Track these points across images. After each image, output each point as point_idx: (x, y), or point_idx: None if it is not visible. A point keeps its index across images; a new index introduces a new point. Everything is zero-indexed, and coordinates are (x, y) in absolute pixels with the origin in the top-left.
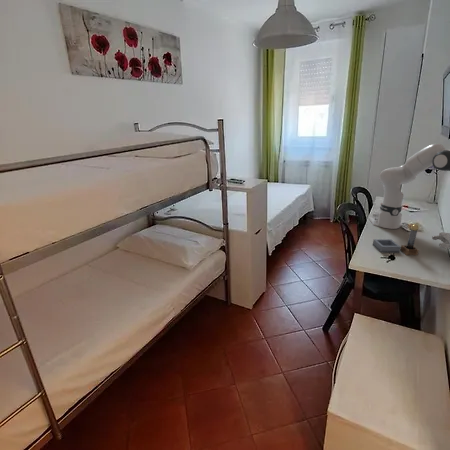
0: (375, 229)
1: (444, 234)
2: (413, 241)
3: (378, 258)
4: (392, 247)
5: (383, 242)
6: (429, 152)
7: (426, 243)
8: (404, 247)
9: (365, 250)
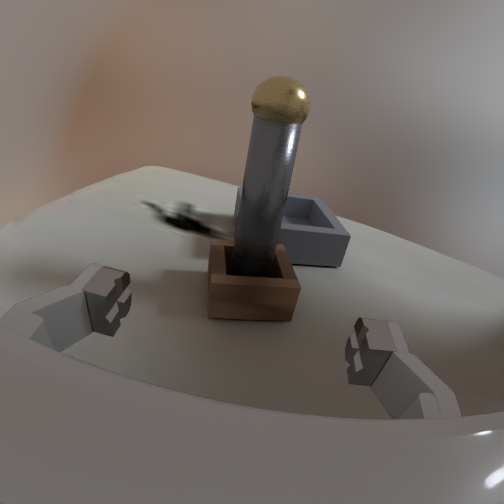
0: (500, 291)
1: (490, 445)
2: (240, 206)
3: (181, 198)
4: None
5: (320, 225)
6: None
7: None
8: None
9: None
